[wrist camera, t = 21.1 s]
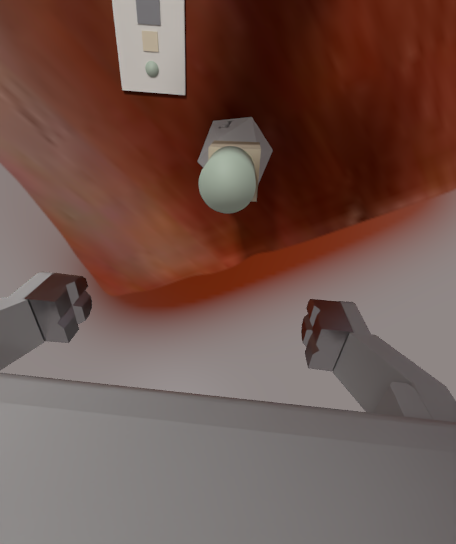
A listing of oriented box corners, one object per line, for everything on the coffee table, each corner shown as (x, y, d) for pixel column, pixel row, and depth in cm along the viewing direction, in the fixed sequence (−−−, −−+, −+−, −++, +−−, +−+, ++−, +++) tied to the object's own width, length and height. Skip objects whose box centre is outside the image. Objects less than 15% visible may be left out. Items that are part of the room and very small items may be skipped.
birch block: (214, 140, 31) (208, 147, 26) (259, 142, 30) (261, 149, 26) (214, 186, 33) (208, 199, 29) (255, 188, 33) (256, 201, 29)
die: (281, 135, 37) (258, 94, 29) (272, 200, 38) (247, 178, 29) (226, 139, 41) (191, 103, 32) (219, 198, 41) (182, 179, 32)
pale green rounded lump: (198, 157, 27) (189, 168, 23) (245, 137, 26) (244, 145, 22) (217, 202, 29) (212, 220, 25) (261, 186, 28) (263, 202, 24)
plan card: (110, -21, 30) (109, -22, 30) (184, -16, 30) (183, -17, 29) (123, 90, 35) (121, 90, 35) (185, 95, 35) (185, 95, 35)
